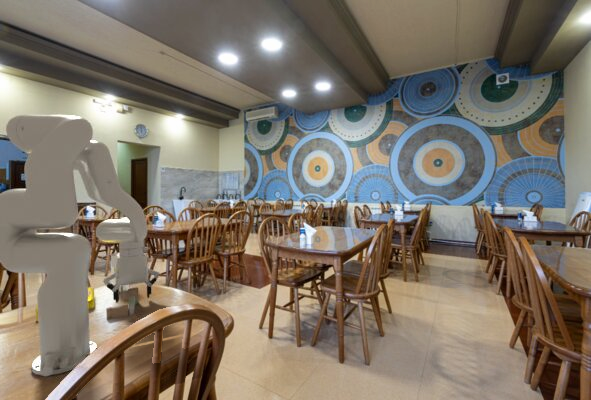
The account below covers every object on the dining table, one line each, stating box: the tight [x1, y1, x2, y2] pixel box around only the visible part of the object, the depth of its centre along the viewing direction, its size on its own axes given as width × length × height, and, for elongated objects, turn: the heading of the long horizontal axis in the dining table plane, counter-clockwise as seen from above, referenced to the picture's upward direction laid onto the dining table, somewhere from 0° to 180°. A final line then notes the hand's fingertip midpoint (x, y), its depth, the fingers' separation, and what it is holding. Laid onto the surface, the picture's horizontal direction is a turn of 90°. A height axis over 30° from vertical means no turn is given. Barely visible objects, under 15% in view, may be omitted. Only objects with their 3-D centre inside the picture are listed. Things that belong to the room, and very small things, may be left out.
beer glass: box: [110, 252, 131, 294], centre depth 114 cm, size 7×7×15 cm
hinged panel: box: [128, 286, 140, 311], centre depth 98 cm, size 10×3×6 cm, turn 26°
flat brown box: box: [105, 303, 135, 320], centre depth 96 cm, size 19×19×4 cm
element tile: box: [35, 286, 95, 323], centre depth 98 cm, size 15×15×5 cm
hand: (133, 298), depth 101 cm, fingers open, 9 cm apart
